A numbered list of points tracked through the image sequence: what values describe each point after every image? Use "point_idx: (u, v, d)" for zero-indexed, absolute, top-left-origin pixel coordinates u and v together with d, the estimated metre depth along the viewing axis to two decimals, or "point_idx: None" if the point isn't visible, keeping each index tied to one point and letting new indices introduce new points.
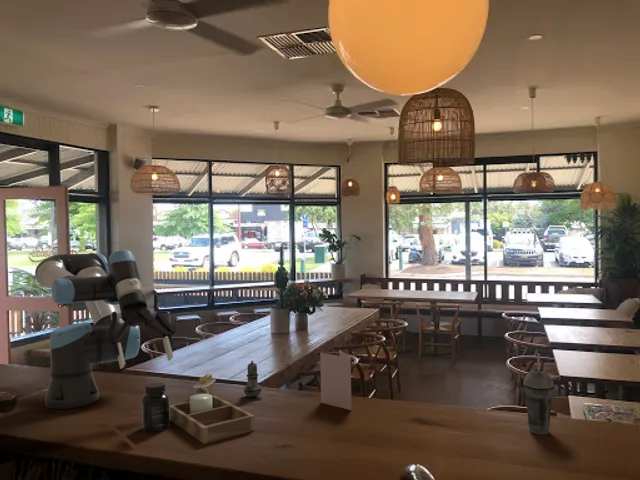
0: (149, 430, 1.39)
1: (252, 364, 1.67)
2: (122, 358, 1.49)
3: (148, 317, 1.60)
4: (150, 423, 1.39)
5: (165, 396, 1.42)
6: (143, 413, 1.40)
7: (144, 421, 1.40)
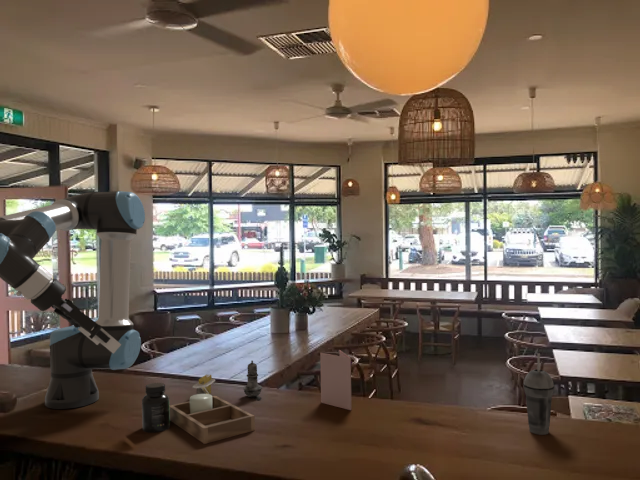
0: (149, 430, 1.39)
1: (252, 364, 1.67)
2: (92, 340, 1.42)
3: (66, 318, 1.29)
4: (150, 423, 1.39)
5: (165, 396, 1.42)
6: (143, 413, 1.40)
7: (144, 421, 1.40)
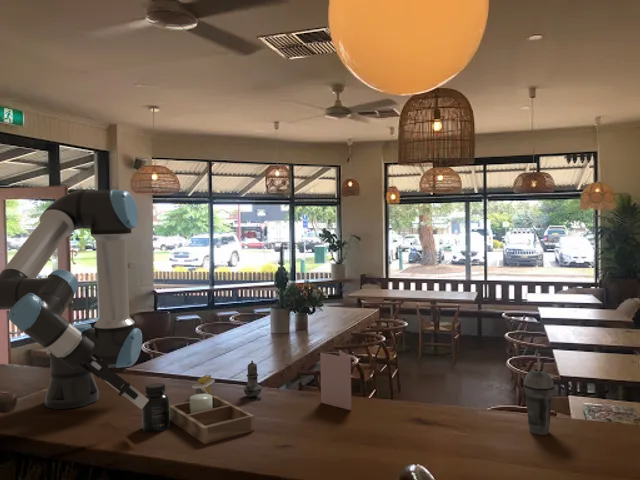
0: (149, 430, 1.39)
1: (252, 364, 1.67)
2: None
3: None
4: (150, 423, 1.39)
5: (165, 396, 1.42)
6: (143, 413, 1.40)
7: (144, 421, 1.40)
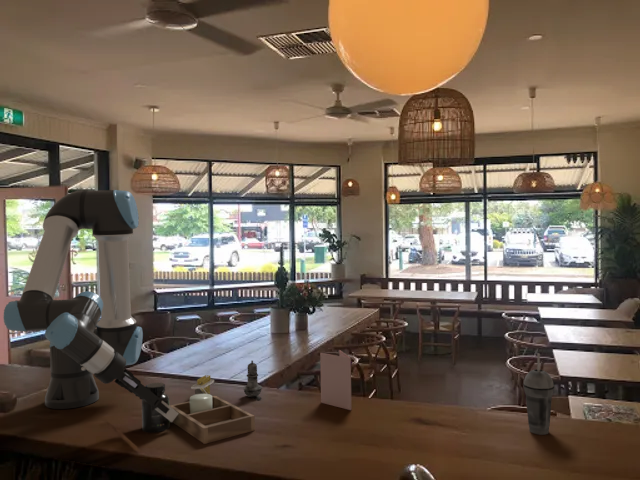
0: (149, 430, 1.39)
1: (252, 364, 1.67)
2: None
3: (128, 390, 1.36)
4: (150, 423, 1.39)
5: (165, 396, 1.42)
6: (143, 413, 1.40)
7: (144, 421, 1.40)
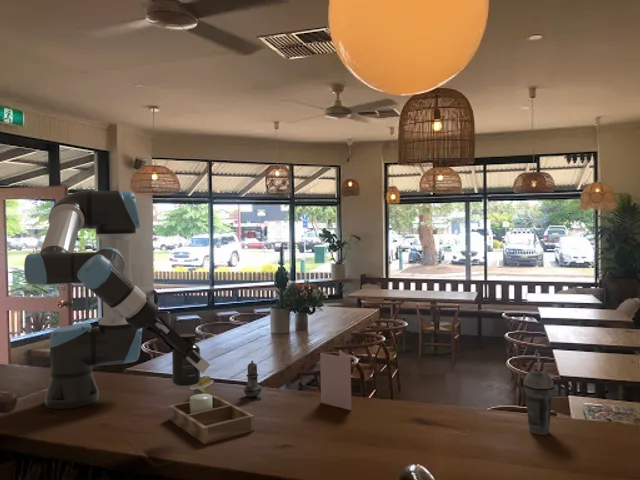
0: (179, 380, 1.35)
1: (252, 364, 1.67)
2: None
3: (159, 337, 1.32)
4: (181, 373, 1.35)
5: (196, 347, 1.38)
6: (173, 363, 1.36)
7: (174, 371, 1.36)
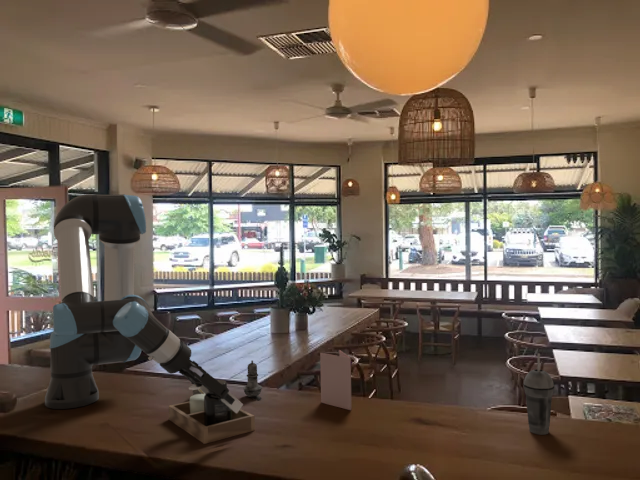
0: None
1: (252, 364, 1.67)
2: None
3: (193, 380, 1.33)
4: (213, 421, 1.37)
5: None
6: (205, 411, 1.38)
7: (207, 419, 1.38)
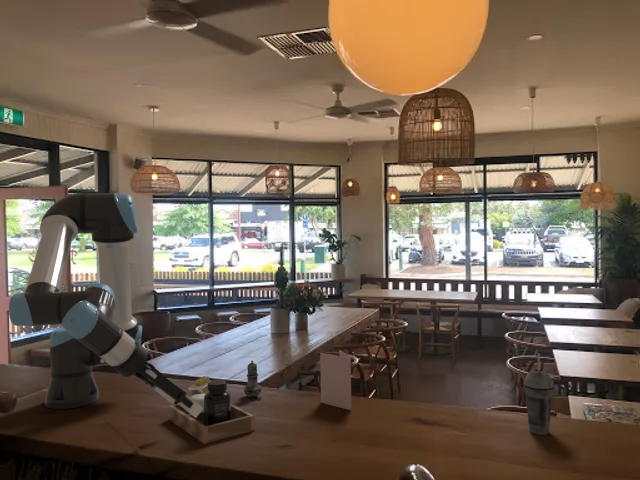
0: None
1: (252, 364, 1.67)
2: (167, 399, 1.39)
3: (149, 383, 1.26)
4: (213, 421, 1.37)
5: (227, 393, 1.40)
6: (205, 411, 1.38)
7: (207, 419, 1.38)
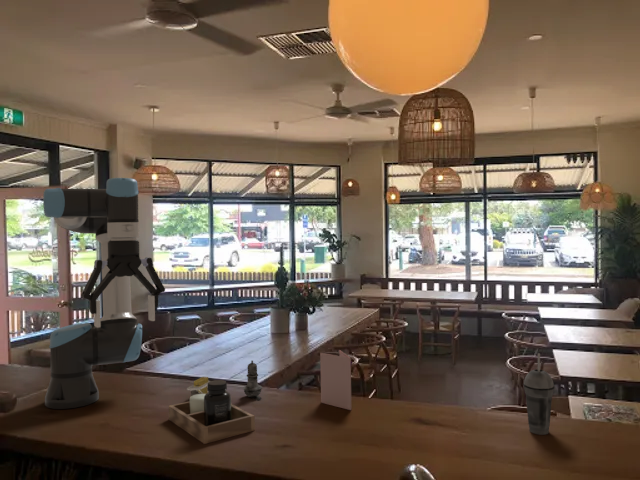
0: None
1: (252, 364, 1.67)
2: (98, 320, 1.33)
3: (137, 272, 1.39)
4: (213, 421, 1.37)
5: (227, 394, 1.40)
6: (205, 411, 1.38)
7: (207, 419, 1.38)
